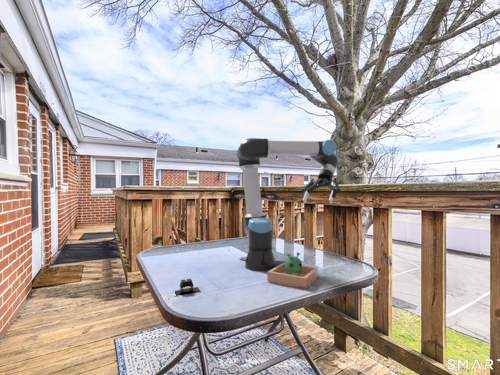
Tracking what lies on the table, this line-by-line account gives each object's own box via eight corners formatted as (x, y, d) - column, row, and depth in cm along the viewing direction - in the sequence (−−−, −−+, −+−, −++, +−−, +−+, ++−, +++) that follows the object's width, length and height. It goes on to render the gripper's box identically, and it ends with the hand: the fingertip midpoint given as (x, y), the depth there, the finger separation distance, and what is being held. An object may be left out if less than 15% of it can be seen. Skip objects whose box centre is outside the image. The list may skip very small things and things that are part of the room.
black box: (200, 287, 97) (200, 275, 97) (205, 293, 91) (205, 281, 91) (167, 292, 92) (167, 280, 92) (170, 300, 85) (170, 286, 85)
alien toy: (289, 280, 100) (289, 255, 100) (282, 274, 107) (282, 251, 107) (305, 279, 101) (305, 254, 101) (298, 273, 109) (297, 250, 109)
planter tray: (267, 281, 101) (267, 271, 102) (283, 271, 115) (283, 262, 115) (305, 289, 93) (305, 278, 93) (317, 277, 107) (317, 267, 107)
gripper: (351, 177, 133) (343, 207, 120) (307, 179, 148) (296, 206, 135) (348, 167, 129) (340, 196, 116) (303, 170, 143) (291, 196, 131)
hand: (316, 201), depth 126 cm, fingers open, 13 cm apart
